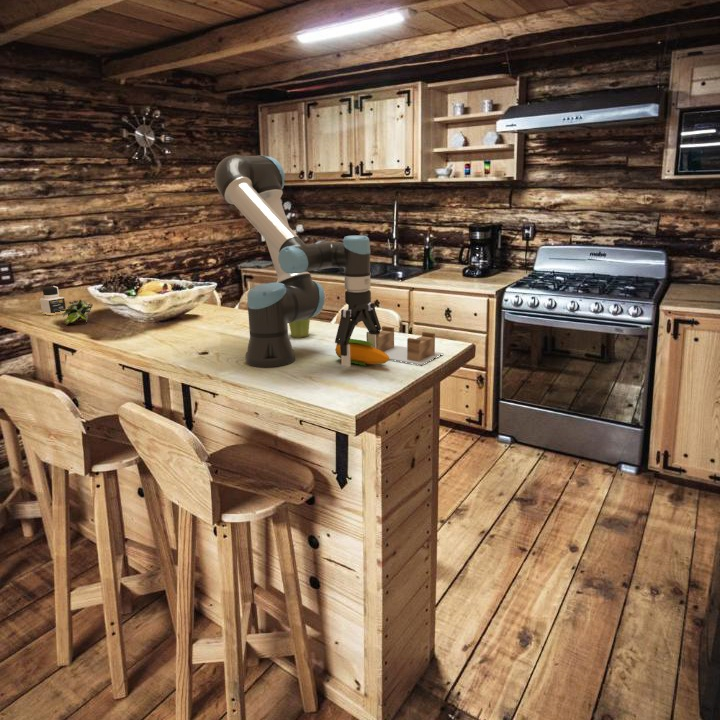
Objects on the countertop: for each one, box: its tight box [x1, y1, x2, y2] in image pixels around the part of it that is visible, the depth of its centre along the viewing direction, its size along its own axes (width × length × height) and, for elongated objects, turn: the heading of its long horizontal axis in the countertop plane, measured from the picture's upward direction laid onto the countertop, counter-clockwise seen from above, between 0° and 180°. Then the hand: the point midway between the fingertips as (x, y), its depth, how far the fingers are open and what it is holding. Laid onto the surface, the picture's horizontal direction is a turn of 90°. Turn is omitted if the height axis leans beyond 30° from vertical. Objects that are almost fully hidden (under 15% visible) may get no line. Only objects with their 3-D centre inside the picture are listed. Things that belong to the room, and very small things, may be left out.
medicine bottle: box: [39, 285, 67, 313], centre depth 262 cm, size 7×7×12 cm
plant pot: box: [288, 318, 311, 339], centre depth 217 cm, size 9×9×9 cm
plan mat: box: [384, 344, 444, 366], centre depth 192 cm, size 14×23×1 cm, turn 55°
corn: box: [334, 338, 390, 367], centre depth 182 cm, size 7×8×20 cm
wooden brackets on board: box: [366, 325, 436, 361], centre depth 191 cm, size 10×19×7 cm, turn 55°
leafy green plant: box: [61, 299, 94, 325], centre depth 244 cm, size 11×11×12 cm
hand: (359, 360), depth 182 cm, fingers open, 13 cm apart
